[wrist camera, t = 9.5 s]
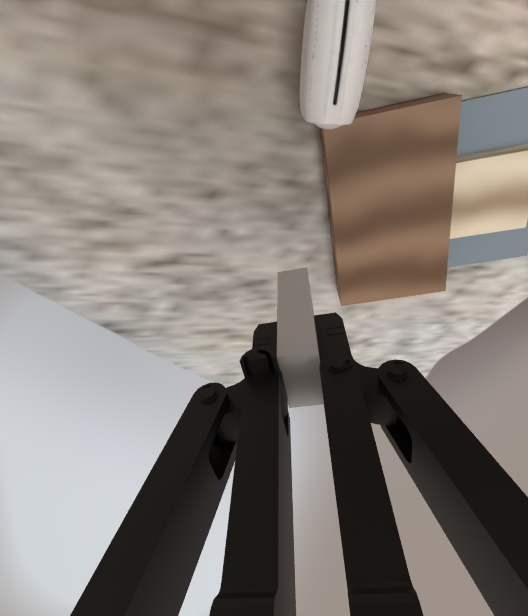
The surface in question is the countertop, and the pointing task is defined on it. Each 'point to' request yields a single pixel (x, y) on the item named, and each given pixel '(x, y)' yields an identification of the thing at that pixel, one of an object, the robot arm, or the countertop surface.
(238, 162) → the countertop surface
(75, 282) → the countertop surface
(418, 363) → the countertop surface
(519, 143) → the rubber mat
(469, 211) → the birch tile
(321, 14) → the photo printer
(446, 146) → the board
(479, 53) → the countertop surface
